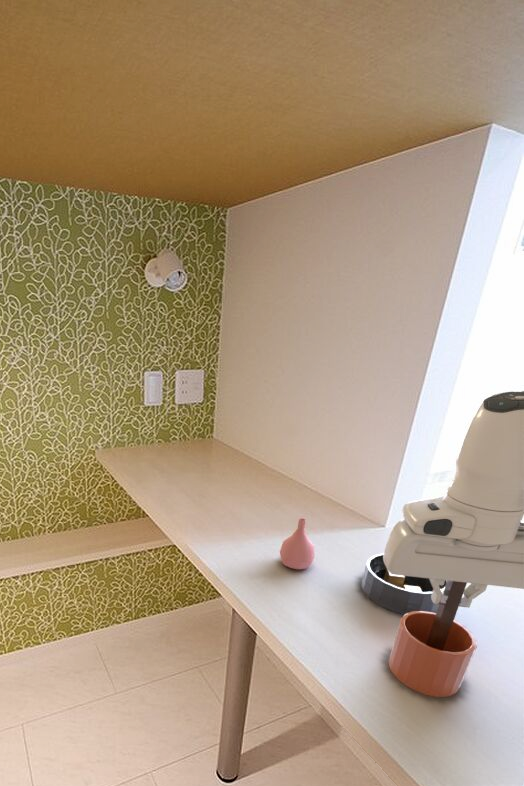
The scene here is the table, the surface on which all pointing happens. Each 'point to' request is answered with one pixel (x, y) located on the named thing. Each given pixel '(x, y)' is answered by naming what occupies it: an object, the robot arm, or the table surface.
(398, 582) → the maple block
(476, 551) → the robot arm
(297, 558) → the pink teardrop shaped piece
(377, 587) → the bowl
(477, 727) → the table surface
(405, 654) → the holder
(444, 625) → the stirring stick
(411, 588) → the mustard block
